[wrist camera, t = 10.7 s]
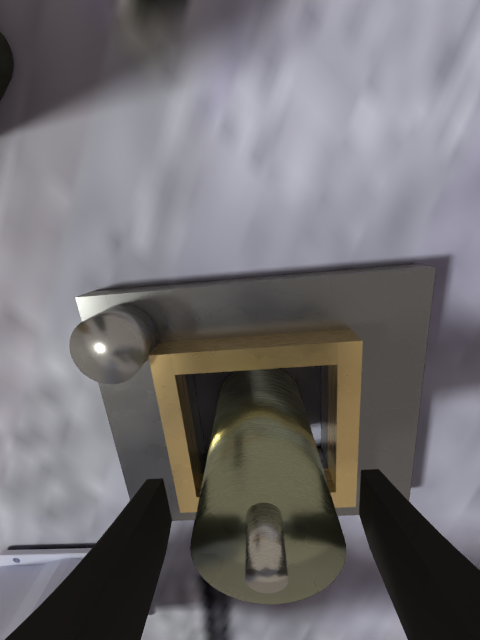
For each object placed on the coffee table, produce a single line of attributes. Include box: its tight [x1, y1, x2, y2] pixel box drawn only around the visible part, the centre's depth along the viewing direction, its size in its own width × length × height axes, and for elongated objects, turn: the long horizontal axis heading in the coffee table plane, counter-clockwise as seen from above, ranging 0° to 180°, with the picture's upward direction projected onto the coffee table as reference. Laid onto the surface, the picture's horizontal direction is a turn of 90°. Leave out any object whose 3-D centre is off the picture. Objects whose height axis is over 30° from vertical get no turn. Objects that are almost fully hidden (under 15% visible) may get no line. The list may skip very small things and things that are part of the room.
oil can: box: [190, 368, 346, 604], centre depth 11 cm, size 5×5×10 cm
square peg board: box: [70, 264, 436, 521], centre depth 14 cm, size 16×14×4 cm
